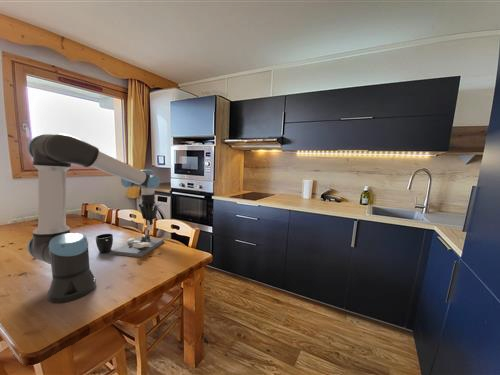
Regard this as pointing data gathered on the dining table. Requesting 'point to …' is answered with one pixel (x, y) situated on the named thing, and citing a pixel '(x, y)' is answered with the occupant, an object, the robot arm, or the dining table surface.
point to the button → (130, 241)
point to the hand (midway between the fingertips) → (149, 229)
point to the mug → (104, 242)
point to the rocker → (141, 245)
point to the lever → (146, 231)
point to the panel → (138, 252)
